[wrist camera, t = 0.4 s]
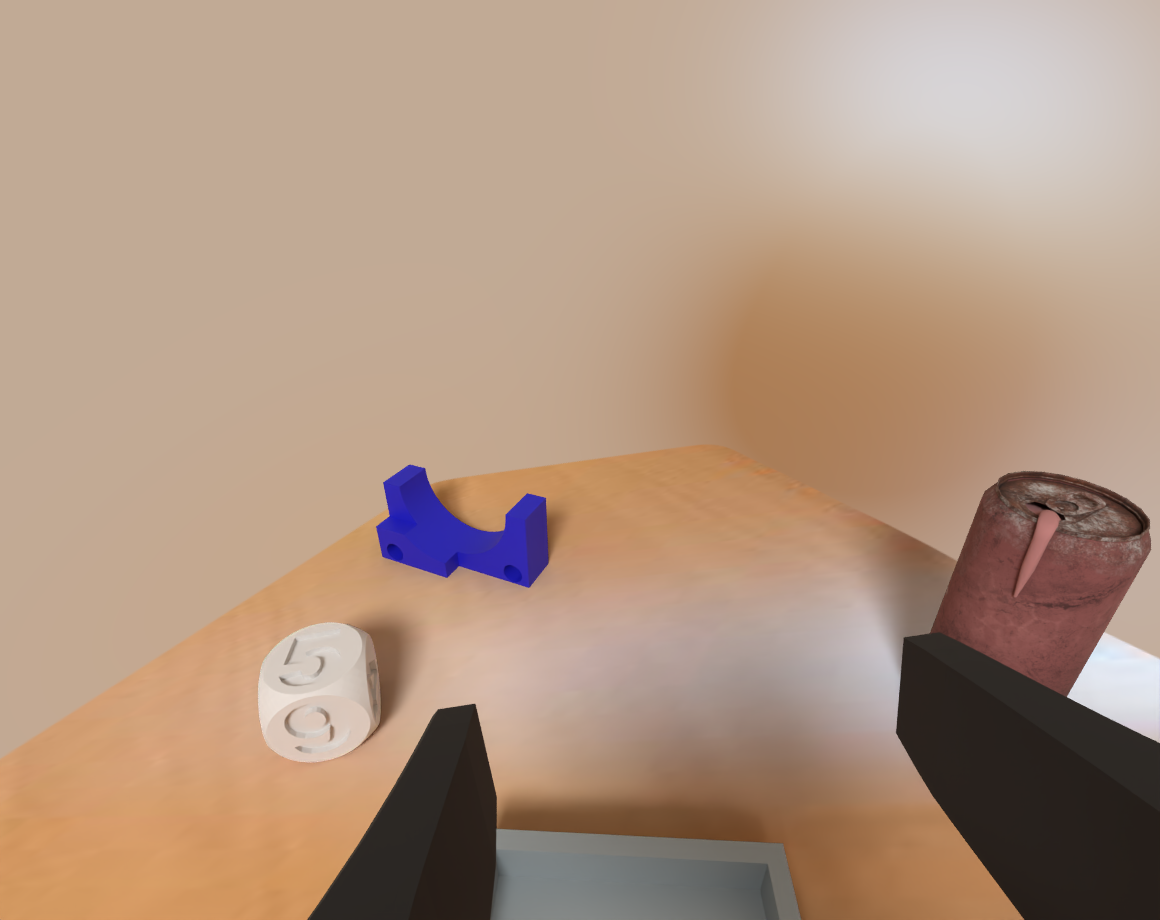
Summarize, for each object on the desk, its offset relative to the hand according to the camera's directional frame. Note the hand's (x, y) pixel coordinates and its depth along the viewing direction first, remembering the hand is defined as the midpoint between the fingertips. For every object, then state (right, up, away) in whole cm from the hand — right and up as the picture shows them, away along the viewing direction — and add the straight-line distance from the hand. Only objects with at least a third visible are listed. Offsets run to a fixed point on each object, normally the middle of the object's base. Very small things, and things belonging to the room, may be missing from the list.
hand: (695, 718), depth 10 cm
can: (+20, -10, +23) cm, 31 cm away
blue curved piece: (-11, -4, +35) cm, 37 cm away
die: (-15, -10, +23) cm, 29 cm away
